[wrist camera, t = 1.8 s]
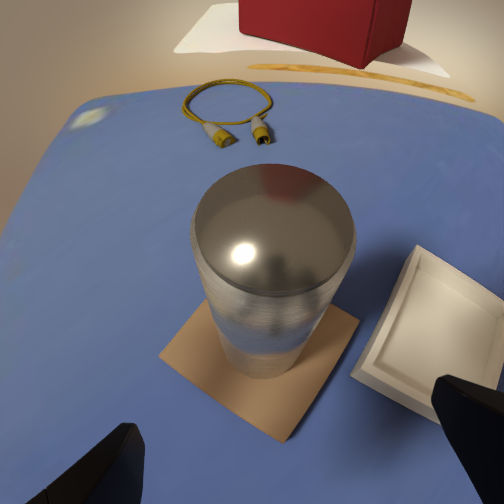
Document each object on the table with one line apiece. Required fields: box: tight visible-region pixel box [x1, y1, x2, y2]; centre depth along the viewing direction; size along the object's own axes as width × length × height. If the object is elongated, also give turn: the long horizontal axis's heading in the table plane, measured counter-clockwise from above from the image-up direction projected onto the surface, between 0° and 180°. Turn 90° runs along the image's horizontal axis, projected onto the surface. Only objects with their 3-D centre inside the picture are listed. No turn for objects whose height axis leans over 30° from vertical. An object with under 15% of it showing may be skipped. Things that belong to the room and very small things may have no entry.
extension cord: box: [182, 79, 272, 148], centre depth 36 cm, size 12×16×2 cm
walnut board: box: [159, 298, 360, 444], centre depth 21 cm, size 10×10×1 cm
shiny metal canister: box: [190, 164, 357, 379], centre depth 15 cm, size 5×5×13 cm
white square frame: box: [349, 245, 504, 425], centre depth 20 cm, size 11×11×2 cm
